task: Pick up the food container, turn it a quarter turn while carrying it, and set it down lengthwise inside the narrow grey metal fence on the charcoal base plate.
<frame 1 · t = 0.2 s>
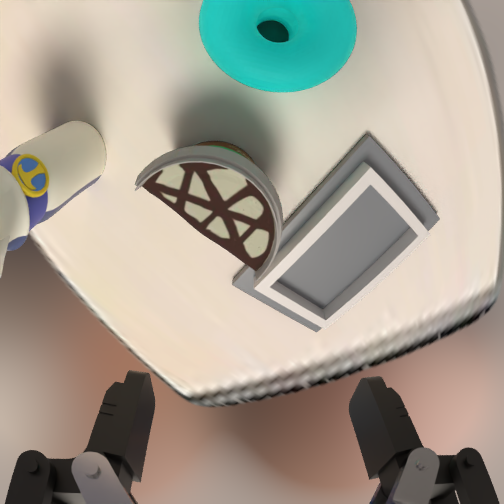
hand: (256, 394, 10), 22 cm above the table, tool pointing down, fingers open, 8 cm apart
donuts: (269, 39, 22), on the table
food container: (232, 165, 28), on the table
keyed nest: (339, 246, 33), on the table
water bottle: (76, 152, 27), on the table
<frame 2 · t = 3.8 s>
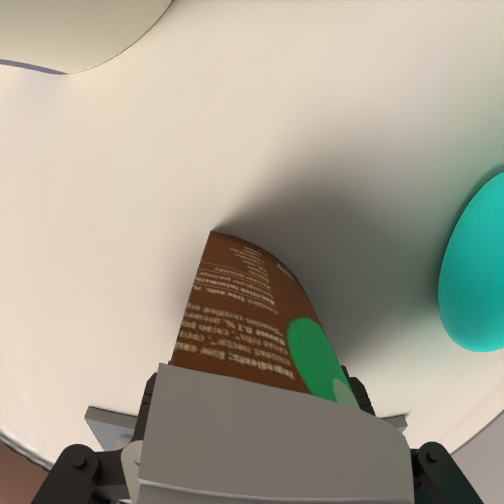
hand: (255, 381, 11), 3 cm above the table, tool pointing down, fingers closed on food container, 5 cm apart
donuts: (494, 252, 12), on the table
food container: (267, 335, 13), on the table, touching gripper
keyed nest: (244, 468, 19), on the table
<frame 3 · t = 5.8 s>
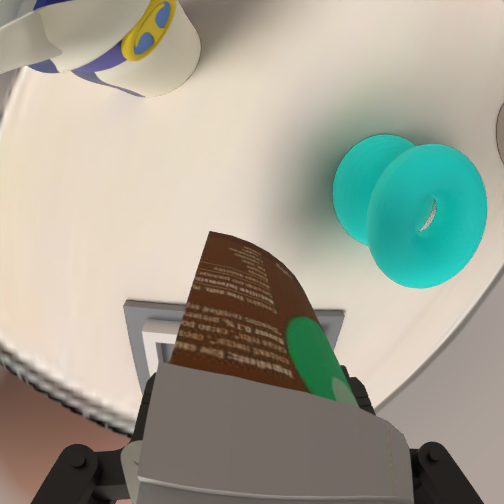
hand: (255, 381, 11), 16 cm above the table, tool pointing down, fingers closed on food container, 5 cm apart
donuts: (379, 187, 25), on the table
food container: (266, 334, 13), point 14 cm above the table, touching gripper
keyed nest: (231, 358, 32), on the table
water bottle: (157, 52, 19), on the table
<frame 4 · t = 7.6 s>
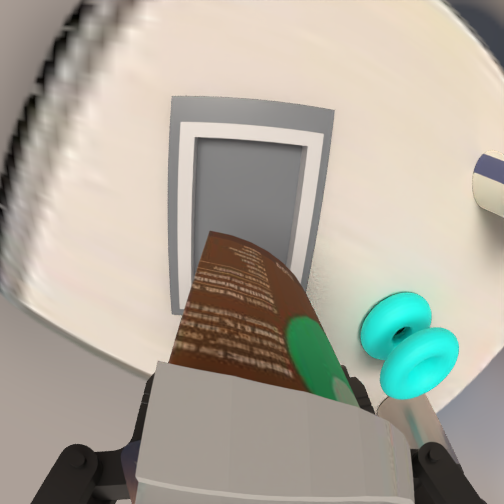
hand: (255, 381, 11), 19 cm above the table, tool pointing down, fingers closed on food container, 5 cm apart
donuts: (392, 319, 35), on the table
food container: (267, 334, 13), point 16 cm above the table, touching gripper
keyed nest: (243, 217, 28), on the table
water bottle: (490, 181, 27), on the table
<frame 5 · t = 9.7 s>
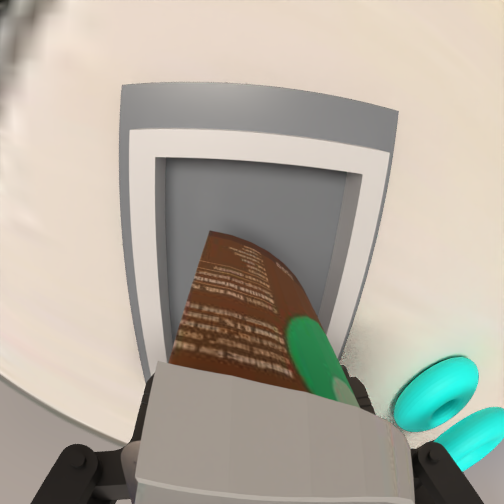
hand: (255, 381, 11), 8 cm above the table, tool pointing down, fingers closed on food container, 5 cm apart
donuts: (431, 385, 25), on the table
food container: (267, 334, 13), point 5 cm above the table, touching gripper
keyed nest: (246, 283, 18), on the table
when the fingers open (5 cm above the table, at t = 11.3 s): food container moves 1 cm, resting on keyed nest.
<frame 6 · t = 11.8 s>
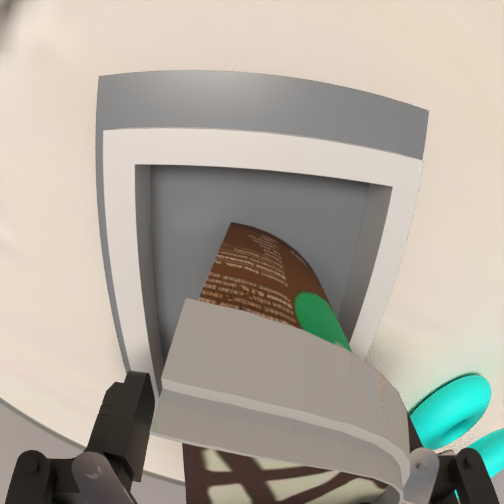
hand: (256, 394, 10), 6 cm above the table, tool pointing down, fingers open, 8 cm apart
donuts: (442, 403, 22), on the table
food container: (283, 320, 14), point 1 cm above the table, touching gripper, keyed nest
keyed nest: (248, 308, 15), on the table
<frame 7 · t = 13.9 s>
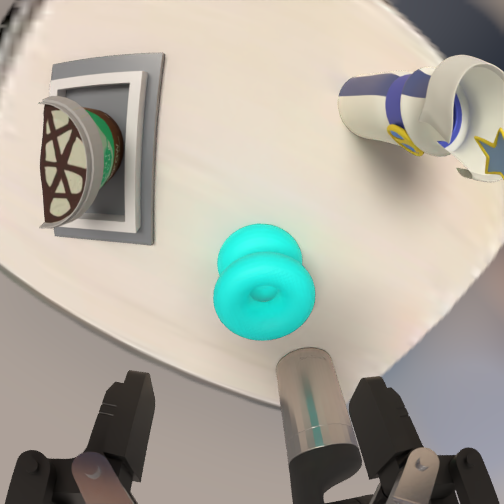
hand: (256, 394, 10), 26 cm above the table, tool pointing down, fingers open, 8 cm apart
donuts: (259, 257, 37), on the table
food container: (109, 149, 29), point 1 cm above the table, touching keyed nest
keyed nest: (99, 149, 30), on the table
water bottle: (369, 108, 29), on the table
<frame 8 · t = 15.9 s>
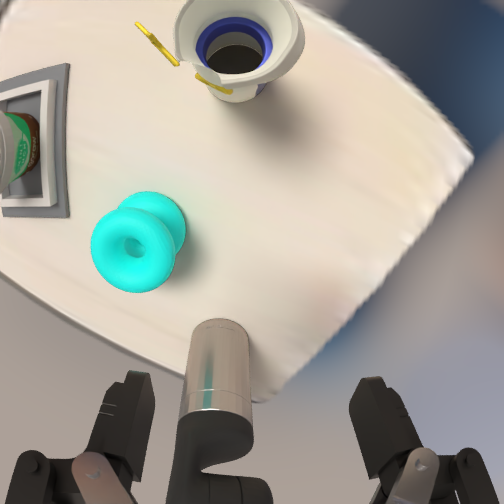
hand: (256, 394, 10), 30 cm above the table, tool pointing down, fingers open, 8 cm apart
donuts: (151, 224, 39), on the table
food container: (34, 143, 32), point 1 cm above the table, touching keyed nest
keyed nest: (29, 144, 32), on the table
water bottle: (236, 74, 31), on the table
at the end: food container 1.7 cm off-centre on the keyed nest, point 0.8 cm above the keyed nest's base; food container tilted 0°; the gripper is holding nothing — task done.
